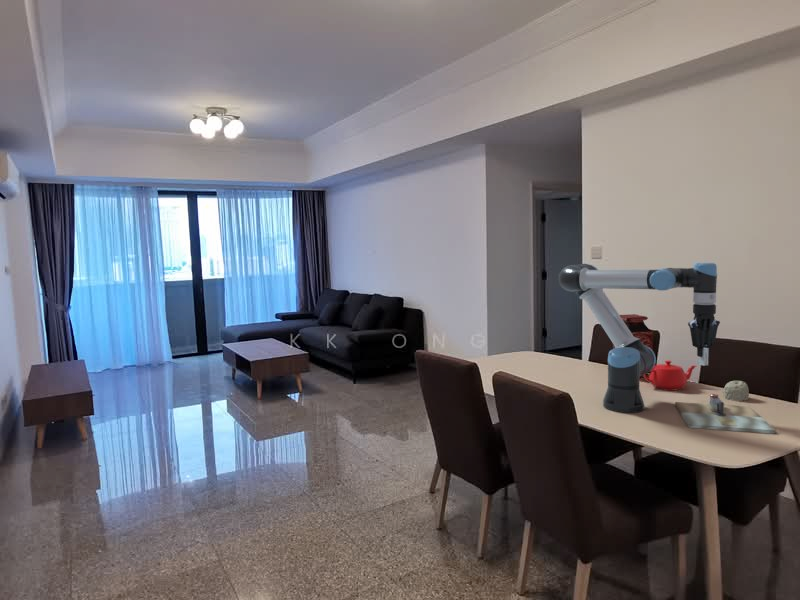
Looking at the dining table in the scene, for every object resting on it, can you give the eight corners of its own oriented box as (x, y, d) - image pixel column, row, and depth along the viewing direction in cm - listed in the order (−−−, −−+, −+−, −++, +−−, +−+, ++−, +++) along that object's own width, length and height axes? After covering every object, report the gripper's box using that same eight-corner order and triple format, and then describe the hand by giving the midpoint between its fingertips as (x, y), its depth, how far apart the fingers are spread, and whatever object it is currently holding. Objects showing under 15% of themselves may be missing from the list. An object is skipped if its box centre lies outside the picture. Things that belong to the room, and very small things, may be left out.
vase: (611, 372, 268) (612, 314, 265) (637, 371, 269) (637, 313, 267) (626, 379, 254) (627, 318, 251) (653, 377, 256) (654, 316, 253)
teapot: (651, 392, 230) (652, 365, 229) (634, 384, 246) (634, 358, 244) (706, 390, 231) (707, 363, 230) (685, 381, 247) (686, 356, 246)
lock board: (688, 427, 185) (689, 410, 185) (675, 404, 212) (675, 390, 211) (775, 433, 177) (775, 416, 176) (750, 409, 203) (750, 394, 203)
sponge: (744, 411, 214) (760, 391, 212) (723, 397, 215) (739, 378, 213) (734, 404, 223) (750, 385, 221) (714, 391, 224) (730, 372, 222)
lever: (715, 412, 196) (716, 401, 195) (708, 403, 206) (709, 393, 206) (724, 412, 195) (724, 402, 195) (717, 404, 205) (717, 394, 205)
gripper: (698, 305, 193) (696, 368, 195) (727, 303, 197) (725, 365, 199) (682, 303, 200) (680, 364, 203) (710, 301, 204) (708, 361, 206)
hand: (702, 364), depth 201 cm, fingers closed
